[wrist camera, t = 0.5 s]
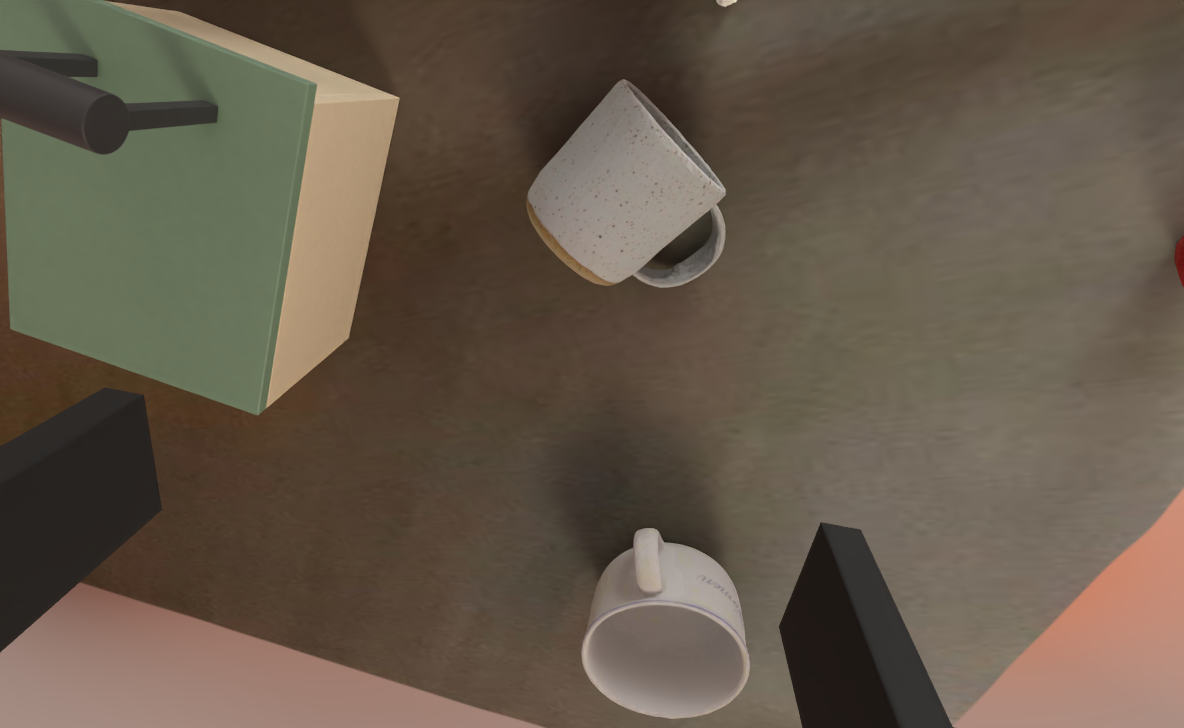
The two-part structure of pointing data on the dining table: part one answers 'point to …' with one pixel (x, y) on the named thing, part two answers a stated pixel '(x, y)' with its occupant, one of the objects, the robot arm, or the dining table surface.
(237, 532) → the dining table surface
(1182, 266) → the strawberry
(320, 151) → the tan storage tray
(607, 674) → the teacup
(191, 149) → the lid
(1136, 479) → the dining table surface
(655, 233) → the ceramic mug
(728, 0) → the shaker set
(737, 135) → the dining table surface
